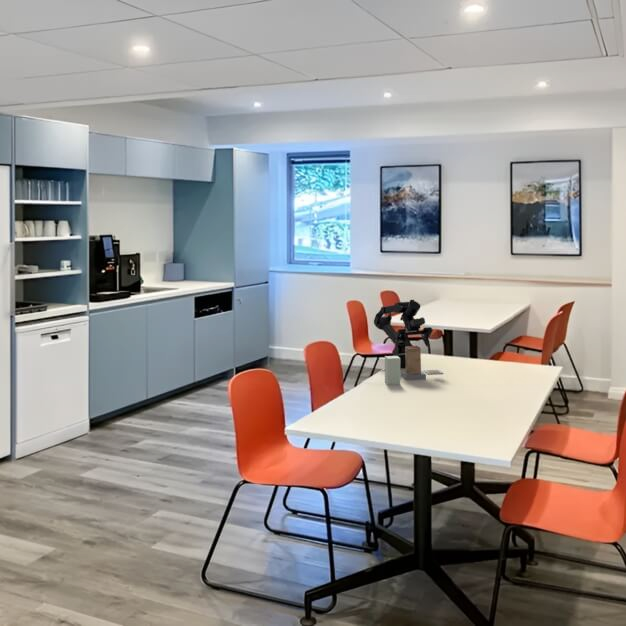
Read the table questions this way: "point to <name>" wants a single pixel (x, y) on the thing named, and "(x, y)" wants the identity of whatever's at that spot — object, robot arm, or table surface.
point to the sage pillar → (392, 370)
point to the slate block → (413, 376)
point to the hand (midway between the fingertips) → (419, 346)
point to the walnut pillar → (413, 359)
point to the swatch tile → (433, 372)
